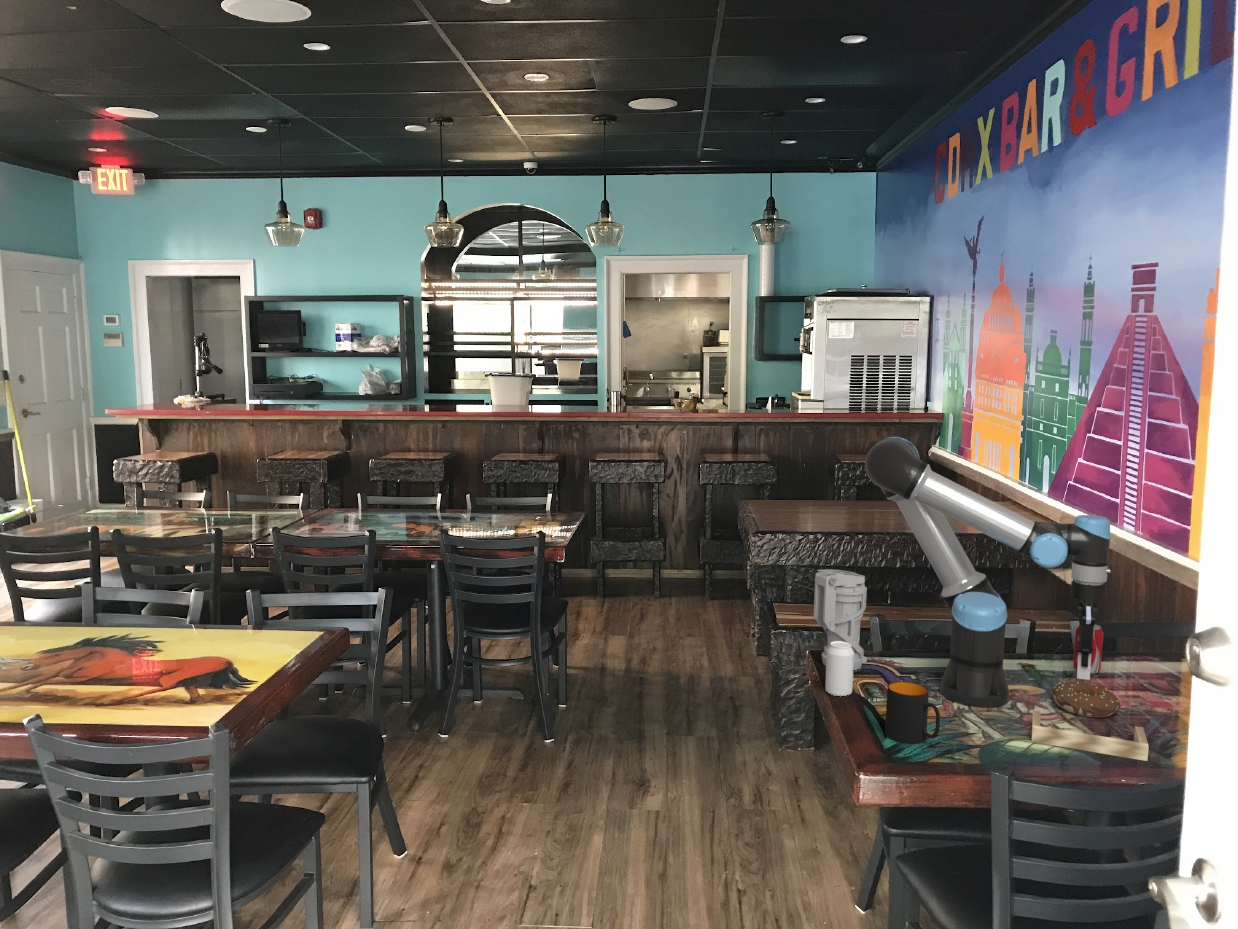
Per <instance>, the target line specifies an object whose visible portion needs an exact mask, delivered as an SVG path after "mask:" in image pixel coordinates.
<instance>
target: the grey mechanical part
mask: <svg viewBox="0 0 1238 929" xmlns="http://www.w3.org/2000/svg"><path fill="white" fill-rule="evenodd" d="M865 581H866V576H865V575H862V574H858V573H857V572H854V571H849V570H842V569H833V568H831V569H829V568H828V569H817V572H816V573H815V578H814V595H813V596H814V600H813V618H814V619H815V621H816V622H817V624H818V625H819V627H822V628H823V631H824V632H825V633H826V635H827V638H826V639H827V640H826V642H827V643H826V644H825V646H823V647H824V649H823V650H824V651H822V653H821V660H822V664H823V665H825V666H824V667H826V660H827V649H828V648H829V646H830V643H831V642H834V641H843V642H848V643H850V644H851V645H852V649H853V651H854V668H853V670H855V671H858V670H857V669H859V670H860V669H861V668H862V667H863V664H865V663H867V661H868V658H867V657H866V656H864V654H865V649H864V648H862V646H861V645H860V636H861V635H860V632H861V618H862V617H863V616H864V612H865V610H866V608H867V596H868V595H867V590H868V588H867V586H865Z"/></svg>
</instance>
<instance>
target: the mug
mask: <svg viewBox="0 0 1238 929" xmlns="http://www.w3.org/2000/svg"><path fill="white" fill-rule="evenodd" d="M886 687H887V689H886V690H887V691H886V702H885V703H886V704H885V707H886V708H885V722H884V723H885V726H884V728H885V729H884V734H885V736H886V737H887V738H888V739H890V740H892V741H893V740H894V741H893V742H897V743H899V742H900V743H901V744H906V745H917V744H918V745H919V744H922V743H925V741H926V740H927V739H928V738H929V739H934V738H935V739H936V737H937V736H938V735H939V733H940V728H941V715H940V711H939V708H938V707H937V705H936V704H934V703H932V702H929V695H930V690H929V688H928V687H927V686H924V685H922V684H921V683H918V682H917V683H916V682H913V681H904V680H903V681H902V680H900V681H893V682H890V683H888V684H887V686H886ZM929 708H932V709H933V710H934V713H935V730H934V731H933V733H929V732H928V731H927V730H928V717H929V716H928V714H929V713H928V712H929Z"/></svg>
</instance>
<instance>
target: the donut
mask: <svg viewBox="0 0 1238 929" xmlns="http://www.w3.org/2000/svg"><path fill="white" fill-rule="evenodd" d="M1051 699H1052V700H1053V701H1054V703H1055V705H1057V706H1058V707H1060V709H1062V710H1064V711H1066V712H1068V713H1071V714H1074V715H1079V716H1082V717H1088V718H1107V717H1110V716H1113V715H1116V713H1117V711H1119V710H1120V709H1121V703H1120V701H1119V700H1120V699H1119V698H1118V697H1117V695H1116V693H1114V692H1113V691H1112V690H1110V689H1108V688H1107V687H1105V686H1104V687H1103V686H1100V685H1099V684H1098V685H1097V684H1095V683H1090V682H1089V681H1088V682H1087V681H1080V680H1076V679H1075V680H1074V681H1073V680H1071V681H1067V680H1065V681H1060V682H1057V684H1056V685H1055V686H1054V687H1053V688H1052V694H1051Z"/></svg>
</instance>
